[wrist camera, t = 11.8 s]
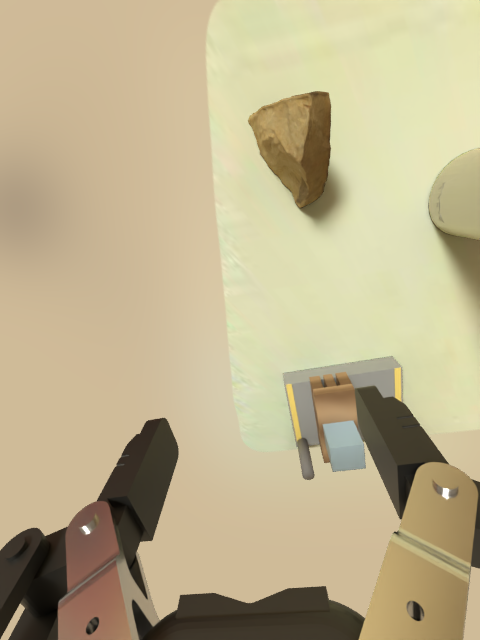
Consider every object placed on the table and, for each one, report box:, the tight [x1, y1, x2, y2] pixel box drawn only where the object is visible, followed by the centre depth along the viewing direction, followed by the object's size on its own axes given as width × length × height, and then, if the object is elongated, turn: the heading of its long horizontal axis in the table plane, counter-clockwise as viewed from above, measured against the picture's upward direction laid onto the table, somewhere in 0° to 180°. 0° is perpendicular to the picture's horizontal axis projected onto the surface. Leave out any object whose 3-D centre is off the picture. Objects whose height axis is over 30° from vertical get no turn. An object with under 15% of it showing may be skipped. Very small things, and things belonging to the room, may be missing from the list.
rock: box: [248, 91, 331, 208], centre depth 30 cm, size 11×9×10 cm
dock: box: [283, 356, 403, 480], centre depth 40 cm, size 16×12×9 cm
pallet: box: [309, 372, 358, 463], centre depth 40 cm, size 12×5×4 cm, turn 12°
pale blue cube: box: [323, 420, 366, 472], centre depth 36 cm, size 4×4×4 cm
